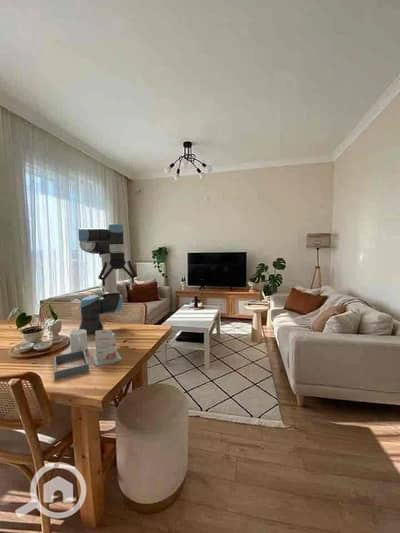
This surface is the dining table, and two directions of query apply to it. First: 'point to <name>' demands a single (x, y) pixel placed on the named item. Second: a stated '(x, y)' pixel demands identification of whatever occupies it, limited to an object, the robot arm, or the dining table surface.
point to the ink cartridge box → (105, 344)
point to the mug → (78, 340)
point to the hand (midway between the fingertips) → (118, 290)
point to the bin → (72, 370)
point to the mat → (106, 360)
